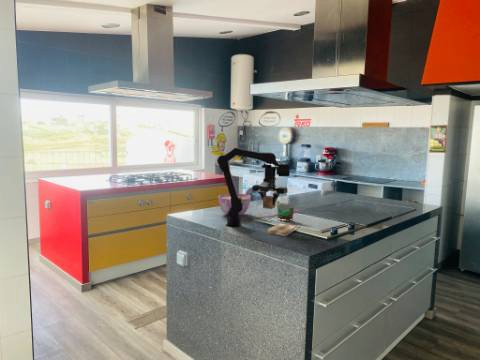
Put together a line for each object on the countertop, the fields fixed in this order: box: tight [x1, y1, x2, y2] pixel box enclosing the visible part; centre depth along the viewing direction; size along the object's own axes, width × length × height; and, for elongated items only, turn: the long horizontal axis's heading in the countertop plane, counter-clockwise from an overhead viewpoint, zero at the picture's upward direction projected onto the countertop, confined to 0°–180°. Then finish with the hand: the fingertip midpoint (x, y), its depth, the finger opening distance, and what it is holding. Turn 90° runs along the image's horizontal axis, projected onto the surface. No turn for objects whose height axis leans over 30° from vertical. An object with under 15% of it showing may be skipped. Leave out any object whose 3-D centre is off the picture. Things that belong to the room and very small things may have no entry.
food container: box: [275, 200, 296, 220], centre depth 216 cm, size 12×6×10 cm, turn 45°
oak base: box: [266, 223, 296, 237], centre depth 193 cm, size 10×14×2 cm
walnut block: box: [262, 195, 276, 210], centre depth 200 cm, size 5×5×6 cm
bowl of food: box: [217, 193, 252, 217], centre depth 226 cm, size 20×20×12 cm
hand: (269, 204), depth 200 cm, fingers closed on walnut block, 5 cm apart
